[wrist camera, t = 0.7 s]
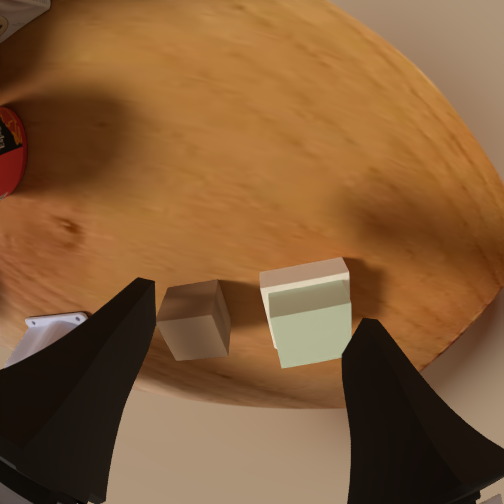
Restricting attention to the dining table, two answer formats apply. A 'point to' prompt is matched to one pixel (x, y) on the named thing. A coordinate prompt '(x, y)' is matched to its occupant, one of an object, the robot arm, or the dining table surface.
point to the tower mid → (310, 323)
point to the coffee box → (19, 14)
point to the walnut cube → (195, 321)
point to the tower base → (302, 279)
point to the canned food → (11, 151)
